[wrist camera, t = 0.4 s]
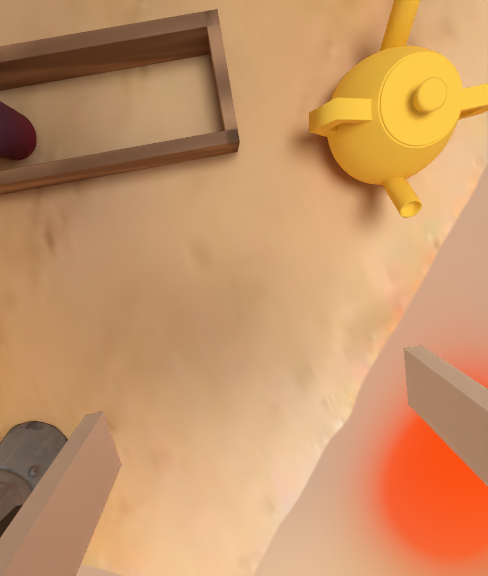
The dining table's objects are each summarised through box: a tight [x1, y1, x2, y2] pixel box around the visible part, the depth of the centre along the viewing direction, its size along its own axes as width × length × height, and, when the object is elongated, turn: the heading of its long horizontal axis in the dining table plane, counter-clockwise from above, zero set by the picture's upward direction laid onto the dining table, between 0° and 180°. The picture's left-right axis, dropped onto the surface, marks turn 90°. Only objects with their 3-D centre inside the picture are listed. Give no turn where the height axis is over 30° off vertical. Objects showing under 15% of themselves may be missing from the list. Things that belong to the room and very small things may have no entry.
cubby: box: [0, 9, 240, 194], centre depth 32 cm, size 11×31×5 cm, turn 100°
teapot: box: [309, 0, 488, 218], centre depth 31 cm, size 20×18×11 cm
